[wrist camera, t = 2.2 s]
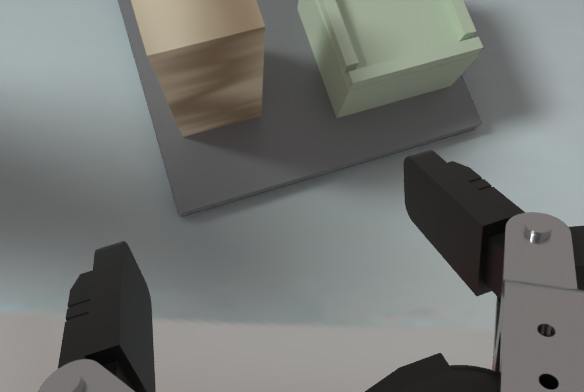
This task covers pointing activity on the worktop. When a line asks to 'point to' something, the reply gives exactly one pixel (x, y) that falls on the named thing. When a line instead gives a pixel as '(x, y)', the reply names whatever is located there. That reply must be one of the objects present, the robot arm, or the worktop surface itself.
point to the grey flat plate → (288, 122)
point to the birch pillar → (205, 58)
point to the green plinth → (387, 48)
